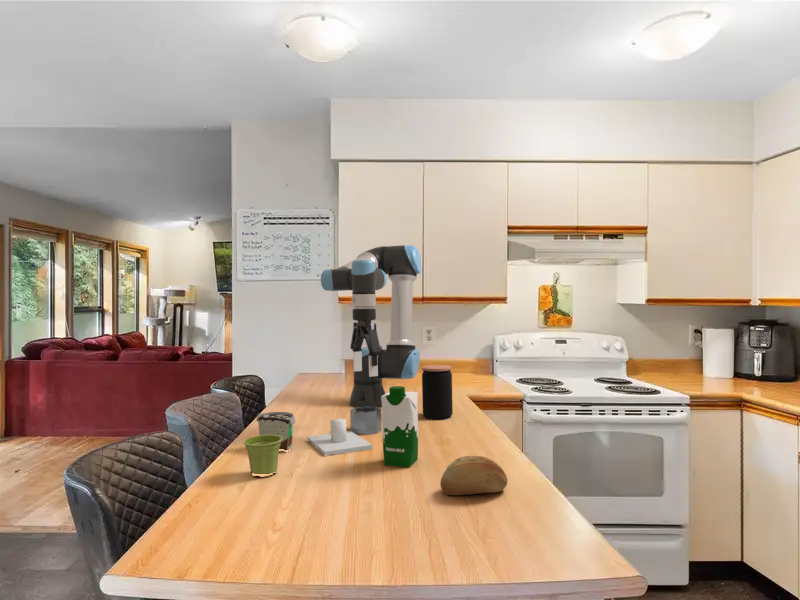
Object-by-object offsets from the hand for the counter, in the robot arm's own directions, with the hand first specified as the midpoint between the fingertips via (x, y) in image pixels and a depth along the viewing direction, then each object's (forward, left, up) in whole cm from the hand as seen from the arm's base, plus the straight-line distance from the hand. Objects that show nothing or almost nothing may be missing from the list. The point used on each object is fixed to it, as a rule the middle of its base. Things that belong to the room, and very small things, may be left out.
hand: (365, 373), depth 173 cm
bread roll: (+62, +1, -19) cm, 65 cm away
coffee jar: (-6, +30, -19) cm, 36 cm away
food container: (+6, -29, -19) cm, 35 cm away
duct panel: (+11, -13, -19) cm, 25 cm away
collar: (0, 0, -19) cm, 19 cm away
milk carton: (+35, -4, -19) cm, 40 cm away
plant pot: (+27, -38, -19) cm, 50 cm away
